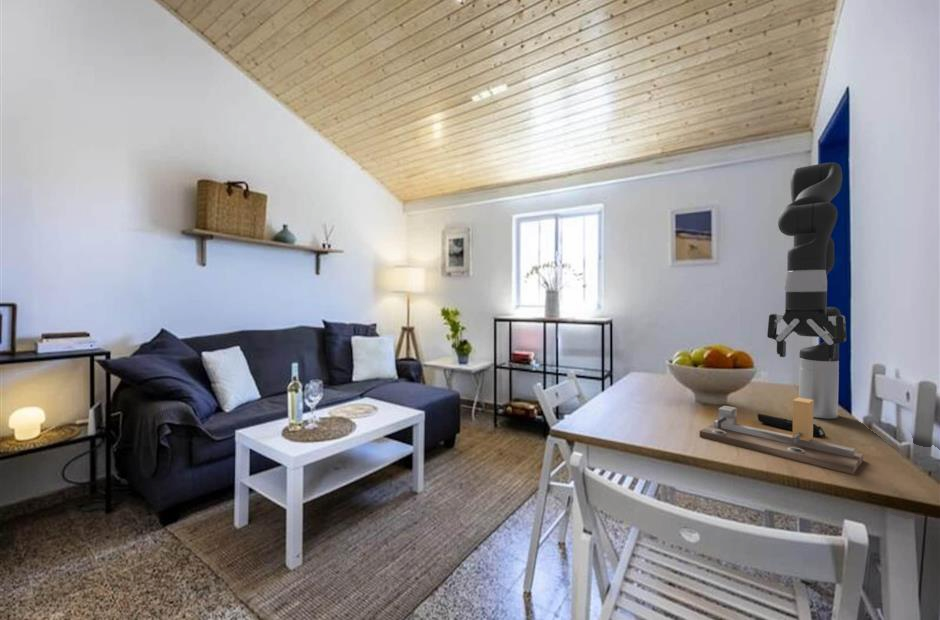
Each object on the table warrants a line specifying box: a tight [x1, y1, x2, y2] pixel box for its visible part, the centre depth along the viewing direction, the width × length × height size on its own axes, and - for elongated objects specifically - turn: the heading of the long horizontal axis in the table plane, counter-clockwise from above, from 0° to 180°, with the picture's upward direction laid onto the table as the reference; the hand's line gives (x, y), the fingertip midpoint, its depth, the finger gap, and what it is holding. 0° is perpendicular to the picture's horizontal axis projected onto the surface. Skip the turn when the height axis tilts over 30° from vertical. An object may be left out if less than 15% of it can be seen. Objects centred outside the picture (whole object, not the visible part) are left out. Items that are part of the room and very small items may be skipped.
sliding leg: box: [791, 397, 814, 446], centre depth 96 cm, size 8×3×10 cm, turn 129°
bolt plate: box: [699, 405, 864, 475], centre depth 100 cm, size 11×30×7 cm, turn 39°
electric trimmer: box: [757, 413, 826, 439], centre depth 113 cm, size 4×15×3 cm, turn 31°
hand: (804, 358), depth 97 cm, fingers open, 8 cm apart
